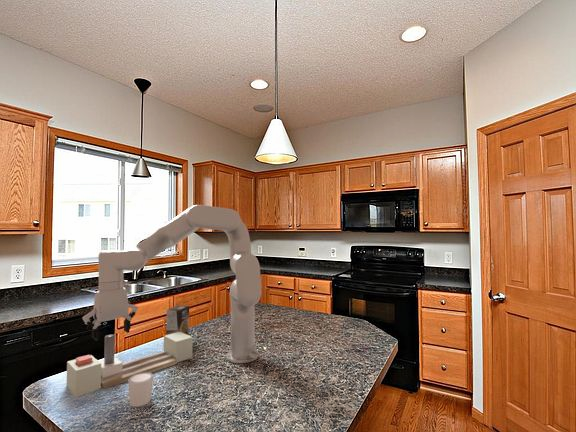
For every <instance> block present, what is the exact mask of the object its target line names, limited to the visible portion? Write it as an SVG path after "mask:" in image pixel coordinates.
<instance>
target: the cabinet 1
mask: <svg viewBox="0 0 576 432" xmlns="http://www.w3.org/2000/svg"><path fill="white" fill-rule="evenodd" d="M89 355H90V356H91V357H92V363H89V364H86V365H82V366H79V367H78V366H77V365H76V358H75V359H71V360H68V361H67V362H66V388H67V389H68V390H69V391H70V393H71V395H73V397H74V398H77V397H80V396H83V395H86V394H90V393H92V392H95V391H97V390H98V391H99V390H100V389H102V387H101V363H100V362H99V361H100V360H98V359H97V358H95V357H94V355H92V354H89Z"/></svg>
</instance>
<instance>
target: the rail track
mask: <svg viewBox="0 0 576 432" xmlns="http://www.w3.org/2000/svg"><path fill="white" fill-rule="evenodd" d="M174 365H177V363H176V360H175V359H173V358H172V355H166V351H164V350H163V351H160V352H156V353H152V354H149V355H146V356H143V357H139V358H136V359H133V360H129V361H126V362H122V372H119V373H116V374H113V375H110V376H107V377H104V378H103V377H101V389H103V390H105V389H108V388H110V387H113V386H116V385H117V386H118V385H120V384H122V383H126V382H128V380H129V378H130V377H131V376H133V375H136V374H139V373H151V374H153V373H154V372H157V371H161V370H162V369H166V368H168V367H171V366H174Z"/></svg>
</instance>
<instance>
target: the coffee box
mask: <svg viewBox="0 0 576 432" xmlns="http://www.w3.org/2000/svg"><path fill="white" fill-rule="evenodd" d="M165 328H166V329H165V330H166V331H165V335H169V334H173V333H176V332H182V333H184V334H187V335H189V336H190V305H176V306H173V307H170V308H168V309H167V310H166V327H165Z"/></svg>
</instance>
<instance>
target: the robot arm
mask: <svg viewBox="0 0 576 432" xmlns="http://www.w3.org/2000/svg"><path fill="white" fill-rule="evenodd" d="M199 229H206V230H214V231H222V232H224V233H225V234H226V236H227V238H228V245H229V265H230V266H229V267H230V269H231V271H232V273H234V274H235V279H234V280H233V281H232V283H231V284H230V288H229V299H230V351H228V352H227V353H226V360H227V361H228V362H230V363H233V364H246V363H251V362H254V361H256V360H257V359H258V358H259V356H260V355H261V354H260V352H259V351H257V346H255V323H256V322H255V316H256V315H255V312H256V311H255V310H256V309H255V306H256V305H257V304H258V303H259V301H260V299H261V297H262V278H261V266H260V262H259V260H258V258H257V257H256V255H254V254H253V253H252V248H251V247H252V245H251V238H250V233H249V229H248V228H247V226H246V224H245V223H244V222H243V220H242V219H241V216H240V214H239V212H238V211H236V210H235V209H232V208H227V207H220V206H210V205H204V204H195V205H192V206H191V207H189V208H186V210H184V211H183V212H181V213H180V214H178V215H177V216H175V217H174V218H172V219H170V221H168V222H166V223H165V224H163V225H162V226H161V227H159V228H158V229H157V230H156V231H154V232H153V234H151V235H149V236H148V237H147V238H145V239H144V240H142V241H141V242H139V243H138V244H136V245H135V246H133V247H132V248H130V249H127V250H119V249H114V250H112V249H109V250H102V251H100V252H99V253H98V290H97V291H95V294H94V301H93V310H91V311H89V312H88V313H87V314H85V315H83V316H82V318H81V319H82V320H83V322H84V323H85V325H87V326H88V327H90V328H91V338H92V339H94V341H96V342H98V341H100V328H98V327H99V326H100V325H101V323H102V322H107V321H112V320H116V319H120V318H123V319H124V320H123V332H125V333H127V334H128V333H130V329H131V326H132V325H131V321H132V320H133V318H134V317H135V315H136V313H137V311H138V308H139V306H138V305H135V304H131V303H129V298H128V294H127V289H126V287H125V285H128V283H129V281H128V280H125V279H124V271H135V272H136V271H139V270H141V269H143V268H144V267H145V265H146V264H147V263H148V262H149V261H151V260H152V259H153V258H155V257H156V256H158V255H159V254H160V253H162V252H164V251H166V250H168V249H169V248H170V249H171V248H173V247H174V246H176V245H178V244H179V243H181V242H183V240H185V239H186V238H188V237H190V235H192V234H193V233H195V232H196V231H198V230H199ZM130 309H131V311H129V310H130ZM92 317H93V322H91V320H90V318H92Z"/></svg>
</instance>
